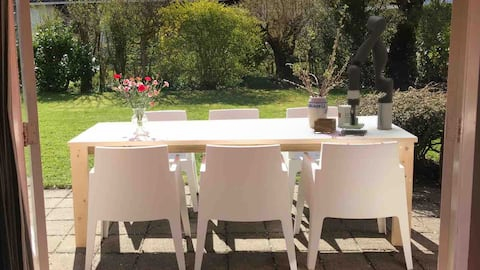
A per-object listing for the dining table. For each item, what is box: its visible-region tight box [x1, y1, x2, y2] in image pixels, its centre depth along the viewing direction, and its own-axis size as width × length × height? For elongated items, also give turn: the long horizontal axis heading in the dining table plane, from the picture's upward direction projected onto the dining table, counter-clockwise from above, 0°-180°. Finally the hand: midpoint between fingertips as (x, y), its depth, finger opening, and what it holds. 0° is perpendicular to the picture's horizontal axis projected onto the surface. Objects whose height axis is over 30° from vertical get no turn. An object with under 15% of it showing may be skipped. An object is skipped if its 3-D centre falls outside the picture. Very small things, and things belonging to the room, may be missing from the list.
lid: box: [343, 116, 365, 130], centre depth 322 cm, size 12×12×6 cm
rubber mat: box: [340, 128, 368, 137], centre depth 323 cm, size 18×16×1 cm
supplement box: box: [337, 104, 351, 129], centre depth 345 cm, size 9×9×15 cm
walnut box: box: [313, 117, 337, 134], centre depth 330 cm, size 12×12×8 cm
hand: (353, 124), depth 322 cm, fingers closed on lid, 2 cm apart
